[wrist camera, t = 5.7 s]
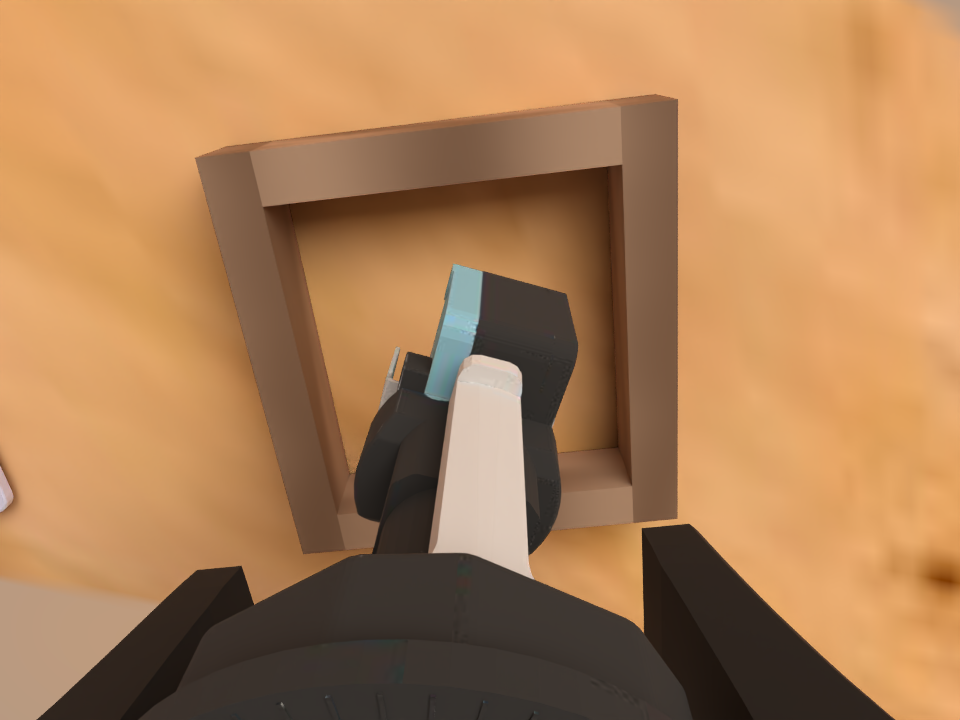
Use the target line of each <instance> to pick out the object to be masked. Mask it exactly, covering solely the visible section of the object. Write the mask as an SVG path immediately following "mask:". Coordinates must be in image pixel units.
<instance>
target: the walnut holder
mask: <svg viewBox="0 0 960 720" xmlns="http://www.w3.org/2000/svg"><path fill="white" fill-rule="evenodd" d="M195 159H196V163H197V167H198V170H199V174H200V178H201V181H202V185H203V189H204V192H205V196H206V200H207V203H208V207H209V211H210V214H211V218H212V222H213V225H214V229H215V233H216V236H217V240H218V244H219V247H220V251H221V254H222V258H223V262H224V265H225V269H226V273H227V276H228V280H229V284H230V287H231V291H232V295H233V298H234V302H235V306H236V309H237V313H238V317H239V320H240V324H241V328H242V331H243V335H244V339H245V342H246V346H247V350H248V353H249V357H250V361H251V364H252V368H253V372H254V375H255V379H256V383H257V386H258V390H259V394H260V397H261V401H262V405H263V408H264V412H265V416H266V419H267V423H268V427H269V430H270V434H271V438H272V441H273V445H274V449H275V452H276V456H277V460H278V463H279V467H280V471H281V474H282V478H283V482H284V485H285V489H286V493H287V496H288V500H289V503H290V507H291V511H292V514H293V518H294V522H295V525H296V529H297V533H298V536H299V540H300V544H301V547H302V551H303V554H310V553H321V552H331V551H342V550H352V549H363V548H373V547H374V544H375V540H376V536H377V532H378V528H379V524H380V523H379V522H374V521H370V520H368V519H365V518H363V517H361V516H359V515H358V513H357V509H356V505H355V500H354V480H355V474H349V469H348V465H347V460H346V456H345V452H344V447H343V443H342V438H341V434H340V429H339V425H338V421H337V416H336V412H335V407H334V403H333V398H332V394H331V390H330V385H329V381H328V376H327V372H326V367H325V363H324V359H323V354H322V350H321V345H320V341H319V336H318V332H317V328H316V323H315V319H314V314H313V310H312V305H311V301H310V297H309V292H308V288H307V283H306V279H305V275H304V270H303V266H302V261H301V257H300V252H299V248H298V244H297V239H296V235H295V230H294V226H293V221H292V217H291V213H290V208H289V204H291V203H299V202H308V201H316V200H325V199H333V198H342V197H350V196H359V195H367V194H376V193H384V192H393V191H401V190H410V189H419V188H427V187H436V186H444V185H453V184H461V183H470V182H478V181H487V180H495V179H504V178H512V177H521V176H529V175H538V174H546V173H555V172H563V171H572V170H580V169H589V168H597V167H606V166H607V172H608V198H609V223H610V249H611V274H612V300H613V325H614V351H615V376H616V402H617V427H618V447H616V448H606V449H596V450H586V451H576V452H566V453H557V455H558V463H559V470H560V478H561V503H560V508H559V512H558V515H557V518H556V520H555V523H554V525H553V527H552V529H551V531H552V530H563V529H573V528H584V527H595V526H605V525H616V524H626V523H637V522H647V521H658V520H668V519H677V419H678V99H674V98H669V97H665V96H661V95H656V94H654V95H646V96H638V97H629V98H621V99H613V100H605V101H597V102H588V103H580V104H572V105H564V106H556V107H547V108H539V109H531V110H523V111H515V112H506V113H498V114H490V115H482V116H473V117H465V118H457V119H449V120H441V121H432V122H424V123H416V124H408V125H400V126H391V127H383V128H375V129H367V130H358V131H350V132H342V133H334V134H326V135H317V136H309V137H301V138H293V139H285V140H276V141H268V142H260V143H252V144H244V145H235V146H227V147H224V148H221V149H218V150H215V151H213V152H210V153H207V154H205V155H202V156H199V157H196V158H195Z"/></svg>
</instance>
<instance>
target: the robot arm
mask: <svg viewBox="0 0 960 720" xmlns="http://www.w3.org/2000/svg"><path fill="white" fill-rule="evenodd" d="M13 498H14V497H13V493H12V490H11V488H10V486H9V484H8V482H7V479H6V477H5V475H4V473H3V471H2V469H1V466H0V512H2V511H3V510H5V509H6V508H7V507H8V506H9V505H10V504H11V503H12V501H13ZM642 557H643V601H644V635H645V636H646V637H647V639H648V640H649V642H650V643H651V644H652V646H653V647H654V648H655V650H656V651H657V652H658V654H659V655H660V657H661V658H662V659H663V661H664V662H665V663H666V665H667V666H668V668H669V669H670V670H671V672H672V673H673V674H674V676H675V677H676V678H677V680H678V681H679V683H680V684H681V685H682V687H683V689H684V691H685V693H686V696H687V700H688V704H689V707H690V711H691V715H692V718H693V720H895V719H894V718H892V717H891V716H890V715H889V714H888V713H886V712H885V711H884V710H883V709H882V708H881V707H879V706H878V705H877V704H876V703H875V702H874V701H872V700H871V699H870V698H869V697H868V696H867V695H866V694H864V693H863V692H862V691H861V690H860V689H859V688H857V687H856V686H855V685H854V684H853V683H852V682H850V681H849V680H848V679H847V678H846V677H845V676H844V675H843V674H841V673H840V672H839V671H838V670H837V669H836V668H835V667H834V666H833V665H831V664H830V663H829V662H828V661H827V660H826V659H825V658H824V657H823V656H821V655H820V654H819V653H818V652H817V651H816V650H815V649H814V648H813V647H812V646H811V645H810V644H809V643H808V642H807V641H806V640H805V639H803V638H802V637H801V636H800V635H799V634H798V633H797V632H796V631H795V630H794V629H793V628H792V627H791V626H790V625H789V624H788V623H787V622H786V621H784V620H783V619H782V618H781V617H780V616H779V615H778V614H777V613H776V612H775V611H774V610H773V609H772V608H771V607H770V606H769V605H768V604H767V603H766V602H765V601H764V600H763V599H762V598H761V597H760V596H759V595H758V594H757V593H756V592H755V591H754V590H753V589H752V588H751V587H750V586H749V585H748V584H747V583H746V582H745V581H744V580H743V579H742V578H741V577H740V576H739V575H738V573H737V572H736V571H735V570H734V569H733V568H732V567H731V566H730V565H729V564H728V563H727V562H726V561H725V560H724V559H723V558H722V557H721V556H720V554H719V553H718V552H717V551H716V550H715V549H714V548H713V547H712V546H711V545H710V544H709V543H708V542H707V540H706V539H705V538H704V537H703V536H702V535H701V534H700V533H699V532H698V531H697V530H696V529H695V528H694V527H692V526H691V525H690V524H683V525H673V526H662V527H651V528H642ZM253 605H254V603H253V600H252V597H251V594H250V591H249V588H248V584H247V581H246V578H245V575H244V572H243V569H242V566H236V567H226V568H215V569H205V570H197V571H196V572H194V573H193V574H192V575H191V576H190V577H189V578H188V579H186V580H185V581H184V582H183V583H182V584H181V585H180V586H179V587H178V588H176V589H175V590H174V591H173V592H172V593H171V594H170V595H169V596H168V597H167V598H166V599H165V600H164V601H163V602H162V603H161V604H159V605H158V606H157V607H156V608H155V609H154V610H153V611H152V612H151V613H150V614H149V615H148V616H147V617H146V618H145V619H144V620H143V621H142V622H141V623H140V624H139V625H138V626H137V627H135V629H133V630H132V631H131V632H130V633H129V634H128V635H127V636H126V637H125V638H124V639H123V640H122V641H121V642H120V643H119V644H118V645H117V646H116V647H115V648H114V649H112V650H111V651H110V652H109V653H108V654H107V655H106V656H105V657H104V658H103V659H102V660H101V661H100V662H99V663H98V664H97V665H96V666H94V667H93V668H92V669H91V670H90V671H89V672H88V673H87V674H86V675H85V676H84V677H83V678H82V679H81V680H80V681H79V682H78V683H77V684H75V685H74V686H73V687H72V688H71V689H70V690H69V691H68V692H67V693H66V694H65V695H64V696H63V697H62V698H61V699H59V700H58V701H57V702H56V703H55V704H54V705H53V706H52V707H51V708H49V709H48V710H47V711H46V712H45V713H44V714H43V715H42V716H41V717H39V718H38V719H37V720H138V719H139V718H141V717H142V716H143V715H144V714H145V713H146V712H148V711H149V710H150V709H151V708H152V707H153V706H155V705H156V704H158V703H159V702H161V701H162V700H164V699H165V698H167V697H168V696H170V695H171V694H173V693H175V692H176V690H177V688H178V686H179V684H180V682H181V680H182V678H183V676H184V674H185V672H186V670H187V668H188V666H189V664H190V662H191V660H192V658H193V655H194V653H195V651H196V649H197V647H198V645H199V643H200V641H201V639H202V637H203V636H204V634H205V633H206V632H207V631H208V630H209V629H210V628H211V627H212V626H214V625H215V624H217V623H219V622H221V621H223V620H225V619H227V618H229V617H231V616H233V615H235V614H237V613H239V612H241V611H243V610H245V609H247V608H249V607H251V606H253Z"/></svg>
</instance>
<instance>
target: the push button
mask: <svg viewBox="0 0 960 720" xmlns="http://www.w3.org/2000/svg"><path fill="white" fill-rule="evenodd" d="M444 300H445V303H444V307H443V311H442V314H441V318H440V322H439V326H438V329H437V333H436V337H435V340H434V344H433V348H432V352H431V355H430V357H427V356H423V355H419V354H415V353H412V352H407V354H406V358H405V361H404V365H403V368H402V372H401V376H400V380H399V381H395V380H393V376H394V372H395V368H396V364H397V360H398V356H399V352H400V348H399V347H396V349H395V352H394V355H393V358H392V361H391V365H390V368H389V371H388V375H387V377H386V381H385V385H384V389H383V393H382V397H381V401H380V405H379V409H378V412H377V414H376V416H375V418H374V420H373V421H372V423H371V426H370V429H369V432H368V435H367V438H366V441H365V444H364V447H363V451H362V454H361V457H360V460H359V463H358V466H357V469H356V473H355V480H354V500H355V505H356V509H357V513H358V515H359V516H361V517H363V518H365V519H368V520H370V521H374V522H379V523H380V524H379V528H378V532H377V536H376V540H375V544H374V548H373V552H372V554H360V555H355V556H351V557H348V558H346V559H344V560H342V561H340V562H338V563H336V564H334V565H332V566H330V567H328V568H326V569H324V570H322V571H320V572H318V573H316V574H314V575H312V576H310V577H308V578H306V579H304V580H302V581H300V582H298V583H296V584H294V585H292V586H290V587H288V588H286V589H284V590H282V591H280V592H279V593H277V594H275V595H273V596H271V597H269V598H267V599H265V600H263V601H261V602H259V603H257V604H255V605H253V606H251V607H249V608H247V609H245V610H243V611H241V612H239V613H237V614H235V615H233V616H231V617H229V618H227V619H225V620H223V621H221V622H219V623H217V624H215V625H214V626H212V627H211V628H210V629H209V630H208V631H207V632H206V633H205V634H204V636H203V637H202V639H201V641H200V643H199V645H198V647H197V649H196V651H195V653H194V655H193V658H192V660H191V662H190V664H189V666H188V668H187V670H186V672H185V674H184V676H183V678H182V680H181V682H180V684H179V686H178V688H177V690H176V692H175V693H173V694H171V695H170V696H168V697H167V698H165V699H164V700H162V701H161V702H159V703H158V704H156V705H155V706H153V707H152V708H151V709H150V710H149V711H148V712H146V713H145V714H144V715H143V716H142V717H141V718H139V719H138V720H693V718H692V715H691V711H690V707H689V704H688V700H687V696H686V693H685V691H684V689H683V687H682V685H681V684H680V683H679V681H678V680H677V678H676V677H675V676H674V674H673V673H672V672H671V670H670V669H669V668H668V666H667V665H666V663H665V662H664V661H663V659H662V658H661V657H660V655H659V654H658V652H657V651H656V650H655V648H654V647H653V646H652V644H651V643H650V642H649V640H648V639H647V637H646V636H645V635H644V633H643V632H642V631H641V629H640V628H639V627H638V626H636V625H635V624H634V623H633V622H631V621H629V620H628V619H626V618H624V617H622V616H619V615H617V614H614V613H612V612H610V611H607V610H605V609H603V608H600V607H598V606H595V605H593V604H591V603H588V602H586V601H584V600H581V599H579V598H576V597H574V596H572V595H569V594H567V593H564V592H562V591H560V590H557V589H555V588H553V587H550V586H548V585H545V584H543V583H541V582H538V581H536V580H535V579H534V578H533V576H532V574H531V570H530V567H529V558H528V555H530V554H532V553H533V552H534V551H535V550H536V549H537V548H538V547H539V546H540V545H541V543H542V542H543V541H544V539H545V538H546V537H547V535H548V534H549V532H550V531H551V529H552V527H553V525H554V523H555V520H556V518H557V515H558V512H559V508H560V503H561V478H560V470H559V463H558V455H557V447H556V441H555V437H554V433H553V430H552V427H553V424H554V421H555V417H556V414H557V411H558V409H559V406H560V403H561V401H562V398H563V395H564V393H565V390H566V387H567V385H568V382H569V379H570V377H571V374H572V372H573V369H574V366H575V362H576V358H577V353H578V341H577V337H576V333H575V329H574V325H573V320H572V316H571V312H570V308H569V303H568V299H567V295H566V294H565V293H561V292H558V291H554V290H550V289H547V288H543V287H540V286H536V285H532V284H528V283H525V282H521V281H517V280H514V279H510V278H506V277H503V276H499V275H495V274H492V273H488V272H484V271H479V270H475V269H472V268H468V267H464V266H461V265H457V264H453V267H452V270H451V274H450V278H449V281H448V285H447V289H446V293H445V298H444Z"/></svg>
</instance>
